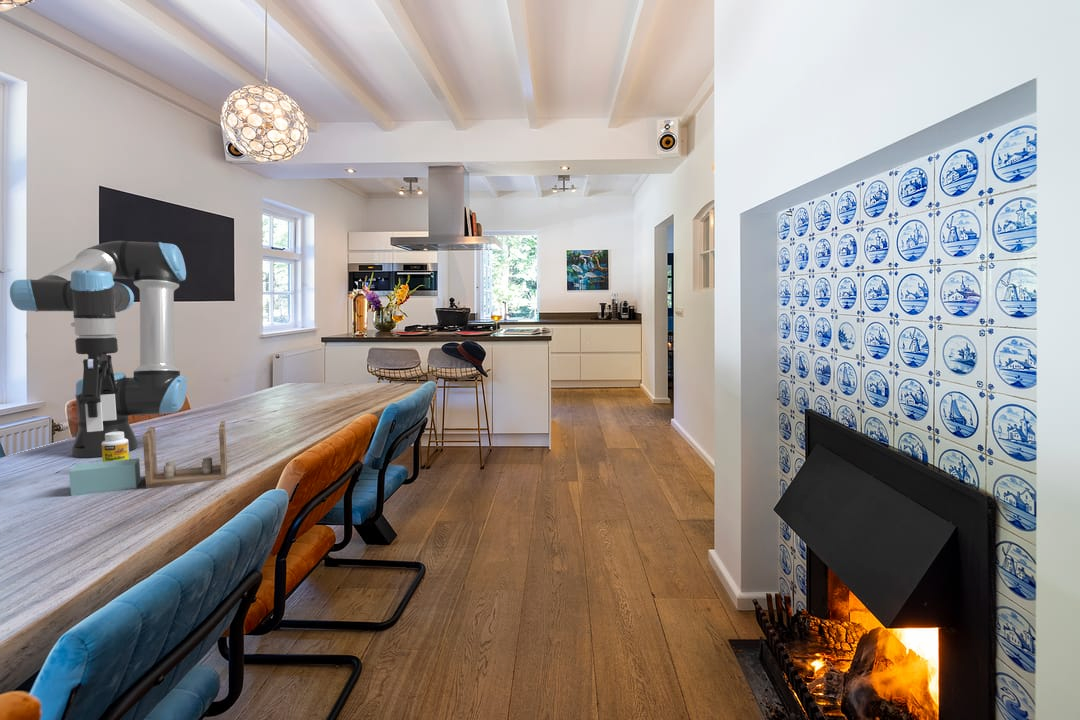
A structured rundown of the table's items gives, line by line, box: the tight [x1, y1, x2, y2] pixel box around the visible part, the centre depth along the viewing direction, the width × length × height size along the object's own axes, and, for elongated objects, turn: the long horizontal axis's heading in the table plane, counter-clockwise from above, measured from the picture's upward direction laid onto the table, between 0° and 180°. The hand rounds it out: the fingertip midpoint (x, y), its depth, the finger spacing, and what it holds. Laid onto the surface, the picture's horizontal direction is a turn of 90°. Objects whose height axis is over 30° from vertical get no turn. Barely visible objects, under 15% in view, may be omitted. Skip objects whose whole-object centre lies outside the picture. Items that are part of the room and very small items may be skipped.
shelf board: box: [68, 457, 142, 497], centre depth 124 cm, size 6×12×6 cm, turn 119°
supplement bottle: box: [101, 431, 130, 462], centre depth 138 cm, size 6×6×10 cm
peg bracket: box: [142, 420, 228, 489], centre depth 132 cm, size 10×16×13 cm, turn 119°
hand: (102, 425), depth 123 cm, fingers open, 13 cm apart
